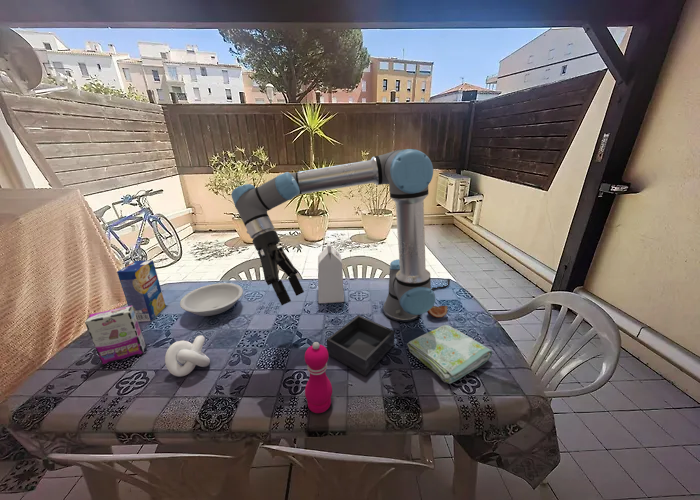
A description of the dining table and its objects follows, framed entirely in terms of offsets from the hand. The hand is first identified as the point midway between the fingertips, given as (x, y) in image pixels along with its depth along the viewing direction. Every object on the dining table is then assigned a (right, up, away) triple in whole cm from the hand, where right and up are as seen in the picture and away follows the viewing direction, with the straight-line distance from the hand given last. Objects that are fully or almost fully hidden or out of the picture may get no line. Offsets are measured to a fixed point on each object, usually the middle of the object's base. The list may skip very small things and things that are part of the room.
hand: (294, 298), depth 81 cm
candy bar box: (-59, -21, +10) cm, 63 cm away
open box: (+21, -20, +12) cm, 31 cm away
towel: (+49, -21, +9) cm, 54 cm away
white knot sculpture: (-33, -22, +5) cm, 40 cm away
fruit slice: (+52, -13, +30) cm, 62 cm away
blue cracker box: (-67, -12, +32) cm, 76 cm away
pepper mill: (+9, -27, -8) cm, 30 cm away
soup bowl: (-41, -11, +36) cm, 56 cm away
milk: (+8, -7, +46) cm, 47 cm away
